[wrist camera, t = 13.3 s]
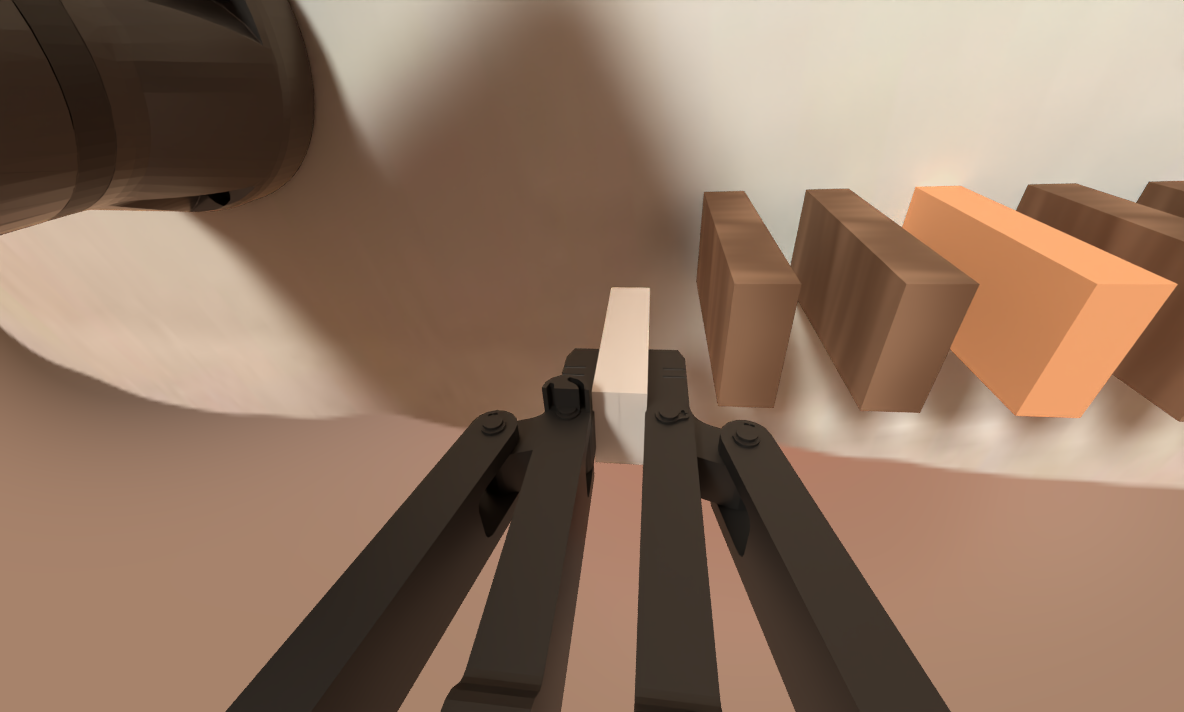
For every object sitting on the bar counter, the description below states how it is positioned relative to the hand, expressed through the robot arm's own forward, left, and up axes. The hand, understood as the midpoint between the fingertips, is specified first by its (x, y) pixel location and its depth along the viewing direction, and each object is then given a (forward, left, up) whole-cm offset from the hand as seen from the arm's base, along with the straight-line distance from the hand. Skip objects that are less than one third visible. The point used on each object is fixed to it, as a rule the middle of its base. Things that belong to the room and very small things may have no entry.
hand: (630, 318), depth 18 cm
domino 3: (+12, +7, -9) cm, 17 cm away
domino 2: (+8, +5, -9) cm, 13 cm away
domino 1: (+4, +2, -9) cm, 10 cm away
